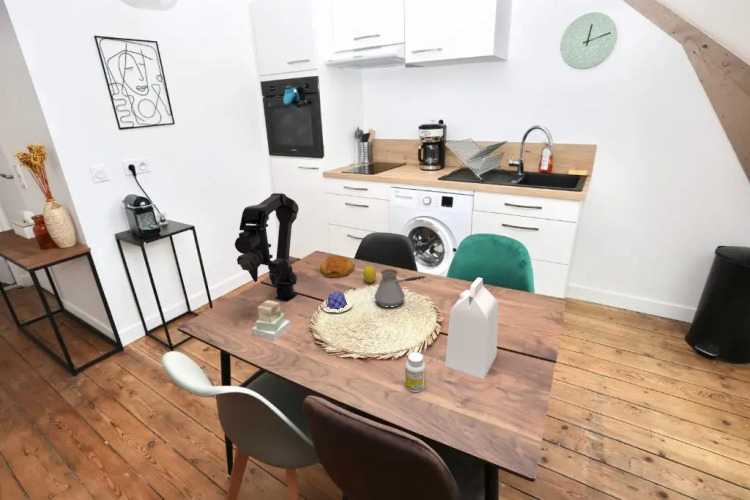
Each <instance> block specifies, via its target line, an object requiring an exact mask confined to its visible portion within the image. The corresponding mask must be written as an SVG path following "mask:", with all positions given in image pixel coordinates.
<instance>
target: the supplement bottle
mask: <svg viewBox="0 0 750 500" xmlns="http://www.w3.org/2000/svg"><path fill="white" fill-rule="evenodd" d="M407 356H408V357H407V361H406V362H405V374H404V375H405V376H404V377H405V387H406V389H407V390H409V392H413V393H420V392H422V391H423V390H425V387H426V369H427V368H426V363H425V361H424V355H423V354H422V353H420V352H416V351H413V352H410V353H409V354H408V355H407Z"/></svg>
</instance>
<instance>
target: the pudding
mask: <svg viewBox="0 0 750 500" xmlns="http://www.w3.org/2000/svg"><path fill="white" fill-rule="evenodd" d="M345 298H346V296H345V294H344V292H340V291H333V292H331V293H330V294H328V297H327V300H325V301H324V302H322V304H324V303H325V302H326V301H328V302H327V306H326V308H327V307H329V308H330V309H337V310H338V309H340V308H344V307H345V306H346V305H348V304H347V302H346V299H347V298H346V299H345Z"/></svg>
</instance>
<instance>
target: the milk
mask: <svg viewBox="0 0 750 500" xmlns="http://www.w3.org/2000/svg"><path fill="white" fill-rule="evenodd" d="M483 281H484V279H483V278H482V277H476V279H475V280H474V281H473V282H472V284H471V285H470V288H469V289H465V290H464V291H463V292H461V293H460V294H459V298H458V299H457V301H456V302H455V303H454V304H453V305H452V307H451V308H450V312H449V320H448V329H447V341H446V342H447V343H446V351H445V352H446V354H445V362H444V363H445V365H444V367H447V368H450V369H453V370H456V371H459V372H461V373H465V374H467V375H470V376H473V377H477V378H479V379H482V380H485V378H486V376H487V375H488V373H489V371H490V369H491V368H492V365H493V363H494V361H495V360H496V357H497V352H498V351H497V349H498V327H499V326H498V325H499V324H498V323H499V302H498V300H497V299H496V297H495V296H494V295H493V294H491V292H490V291H489V290H487V288H486V287H485V285H484V282H483Z"/></svg>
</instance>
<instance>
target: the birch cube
mask: <svg viewBox="0 0 750 500" xmlns="http://www.w3.org/2000/svg"><path fill="white" fill-rule="evenodd" d="M257 313H258V319H260V320H262V321H265V322H269V323H272V322H274V321H275V320H276V319H277V318H279V317H280V316H281V313H282V312H281V304H280V302H278V301H272V300H269V299H266V300H265V301H264V302H263V303H261V304H260V305H258V306H257Z"/></svg>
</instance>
